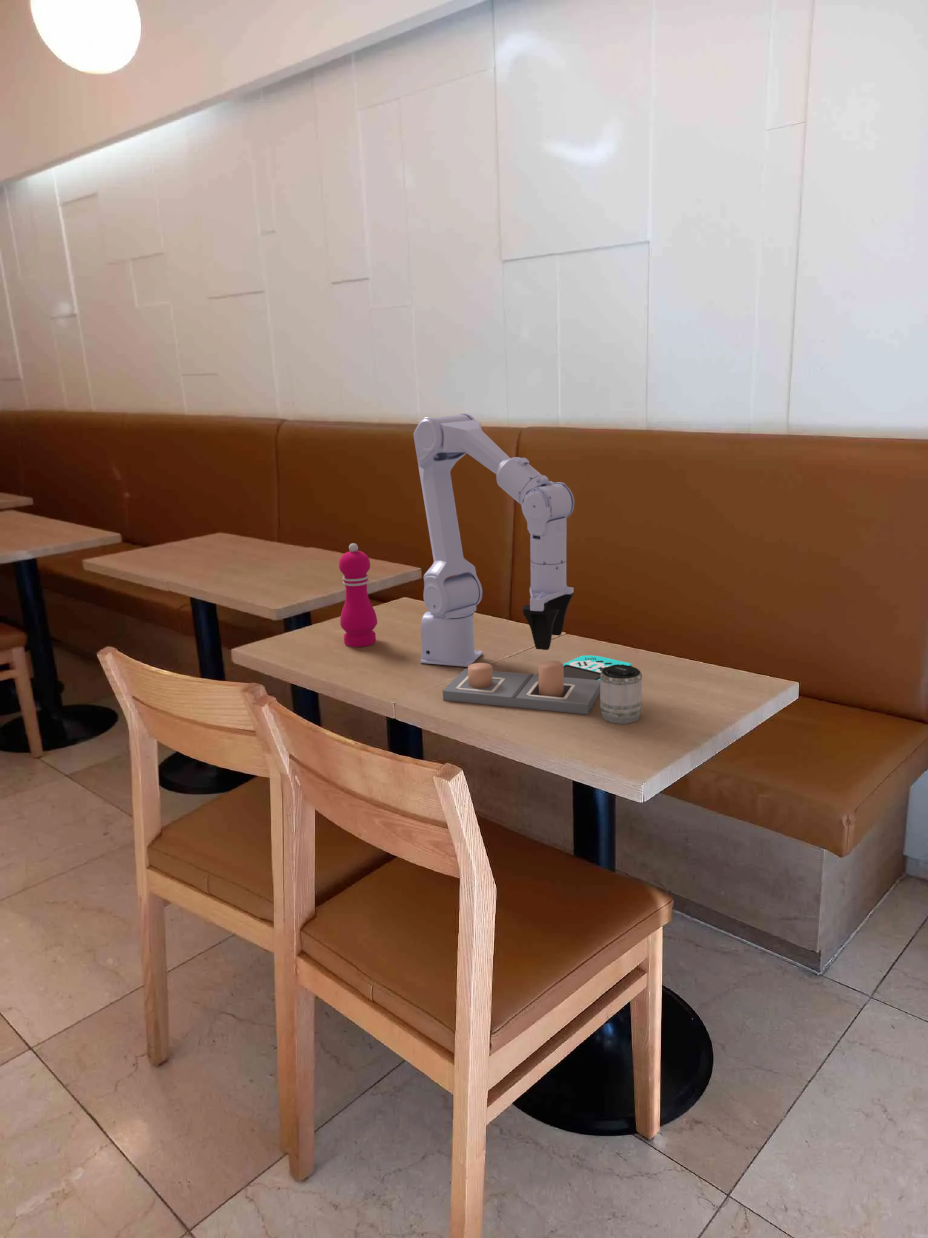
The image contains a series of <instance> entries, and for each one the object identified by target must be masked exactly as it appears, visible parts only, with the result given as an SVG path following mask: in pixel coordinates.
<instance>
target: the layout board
mask: <svg viewBox="0 0 928 1238" xmlns="http://www.w3.org/2000/svg"><path fill="white" fill-rule="evenodd" d="M598 697H600V680H590V679H579V678H567V677H564V698H561V697H550V696H540V695H539V674H534V673H520V672H519V673H518V672H508V671H499V670H498V671H497V670H493V665H492V664H490V663H487V662H476V663H475V662H473V663H472V664H471V665H469V666H468V667H467V668H464V669H463V670H462V671H461V672H460V673H459V674H458V675H457V676H456V677H455V678H454V679H453V680H452V681H451V682H450V683H449V684H448V685H447V686H446V687H445V688H444V689H442V700H443V701H449V702H451V701H452V702H459V703H471V704H479V705H489V706H490V705H491V706H501V707H512V708H517V709H518V708H520V709H531V710H539V711H550V712H558V713H568V714H569V713H570V714H577V715H578V714H579V715H588V714H589V713H590V711H591V709H592V708H593V706H594V705H595V703H596V702H597V701H596V700H597V699H598Z"/></svg>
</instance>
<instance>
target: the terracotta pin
mask: <svg viewBox="0 0 928 1238" xmlns="http://www.w3.org/2000/svg"><path fill="white" fill-rule="evenodd" d="M563 664H564V663H563V662H560V661H557V660H556V661H555V660H545V661H541V662H539V663H538V666H537V667H538V668H537V669H538V675H539V692H538V695H540V696H550V697H561V698H564V697H565V695H564V665H563Z"/></svg>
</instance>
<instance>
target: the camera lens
mask: <svg viewBox="0 0 928 1238" xmlns="http://www.w3.org/2000/svg"><path fill="white" fill-rule="evenodd" d="M642 687H643V674H642V671H641V670H640V669H638V668H637V667H635V666H633V665H632V666H627V665H623V664H622V665H620V664H617V665H612V666H609V667H606V668H605V669H603V670H602V672H601V673H600V694H599V698H600V699H599V706H600V708H599V709H600V713H601V717H602V718H603V720H605V721H606V722H608V723H612V724H618V725H625V724H632V723H635V722H636V721H638V720H639V719H640V714H641V710H642V706H643V705H642V695H643V692H642V690H643V689H642Z"/></svg>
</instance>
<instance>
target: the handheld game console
mask: <svg viewBox="0 0 928 1238" xmlns="http://www.w3.org/2000/svg"><path fill="white" fill-rule="evenodd" d="M617 664H620V665H622V664H623V665H627V666H632V667H633V665H632V663H631V662H627V661H622V660H617V659H613V658H610V657H609V658H608V657H604V656H600V655H591V654H588V655H581V656H578V657H576V658H574V659H571V660H569V661H567V662H565V663H563V665H564V677H567V678H579V679H590V680H600V673H601V672H602V670H603V669H605V668H606V667H609V666H612V665H617Z"/></svg>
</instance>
